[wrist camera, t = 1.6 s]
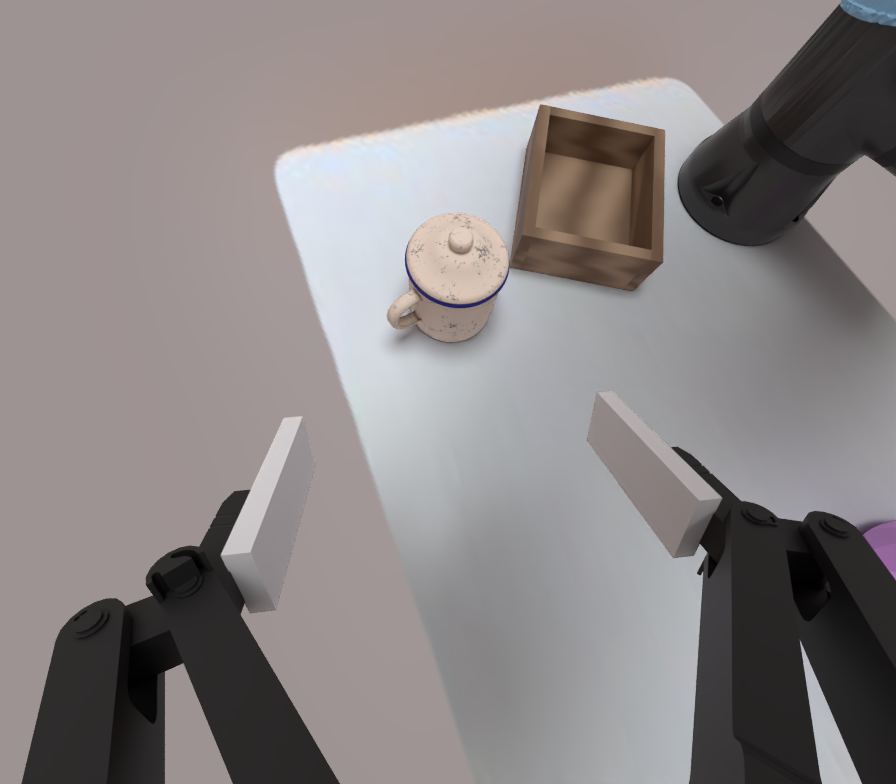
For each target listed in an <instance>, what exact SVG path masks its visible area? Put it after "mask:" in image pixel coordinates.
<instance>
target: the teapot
mask: <svg viewBox="0 0 896 784" xmlns="http://www.w3.org/2000/svg"><path fill="white" fill-rule="evenodd" d="M863 536H864V537H865V539H866V540H867V541H868V543H869V544H870V545H871V547H872V548H873V550H874V551H875V552H876V554H877V555H878V556H879V558H880V559H881V560H882V562H883V563H884V565H885V566H886V567H887V569H888V570H889V571H890V573H891V574H892V576H893V577H894V578H895V580H896V520H895V521H891V522H887V523H883V524H880V525H878V526H875V527H873V528H872V529H870V530H869V531H867V532H866V533H864V534H863Z"/></svg>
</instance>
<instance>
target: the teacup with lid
mask: <svg viewBox="0 0 896 784" xmlns="http://www.w3.org/2000/svg"><path fill="white" fill-rule="evenodd" d="M405 266H406V270H407V274H408V276H409V292H407V293H405V294H404V295H402V296H401V297H399V298H398V299H397V300H396V301H395V302H394V303H393V304H392V305H391V307H390V308H389V310H388V313H387V319H388V321H389V323H390V324H391V325H392V326H393V327H394V328H396V329H406V328H409V327H411V326H413V325H415V324H417V325H418V327H419V328H420V329H421V330H422V331H423V332H424V333H426V334H427V335H429V336H430V337H432V338H435V339H437V340H440V341H445V342H458V341H463V340H466V339H469V338H471V337H473V336H474V335H476V334H477V333H478V332H479V331H480V330H481V329H482V328H483V327H484V325H485V324H486V322H487V320H488V317H489V315H490V312H491V310H492V307H493V305H494V302H495V300H496V297H497V295H498V292H499V291H500V290H501V288H502V287H503V285H504V284H505V282H506V279H507V277H508V273H509V255H508V250H507V247H506V245H505V243H504V241H503V239H502V237H501V236H500V234H499V233H498V232H497V231H496V230H495V229H494V228H493V227H492V226H491V225H490V224H488V223H487V222H485V221H484V220H482V219H480V218H478V217H475V216H472V215H468V214H463V213H447V214H442V215H439V216H436V217H433V218H431V219H429V220H428V221H426V222H425V223H423V224H422V225H421V226H420V227H419V228H418V229H417V230H416V231H415V232H414V234H413V235H412V237H411V239H410V241H409V243H408V245H407V248H406V253H405ZM408 308H411V313H409V314H407V315H405V316H403V317H400V316H401V315H402V314H403V313H404V312H405V311H406V310H407V309H408Z"/></svg>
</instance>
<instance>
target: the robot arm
mask: <svg viewBox="0 0 896 784" xmlns="http://www.w3.org/2000/svg"><path fill="white" fill-rule="evenodd" d="M864 155H866V156H868V157H869V158H871V159H872V160H874V161H875V162H877V163H878V164H879V165H881V166H882V167H884V168H885V169H886V170H887V171H889V172H890V173H892V174H893V175H894V176H896V0H841V3H840V4H839V5H838V7H837V8H836V9H835V10H834V11H833V12H832V13H831V14H830V16H829V17H828V18H827V19H826V20H825V21H824V23H823V24H822V25H821V26H820V27H819V28H818V29H817V30H816V32H815V33H814V34H813V35H812V36H811V37H810V38H809V40H808V41H807V42H806V43H805V44H804V46H803V47H802V48H801V49H800V50H799V51H798V52H797V53H796V55H795V56H794V57H793V58H792V59H791V60H790V62H789V63H788V64H787V65H786V66H785V67H784V68H783V70H782V71H781V72H780V73H779V74H778V75H777V76H776V77H775V79H774V80H773V81H772V82H771V83H770V84H769V85H768V87H767V88H766V89H765V90H764V91H763V92H762V94H761V95H760V96H759V97H758V98H757V99H756V101H755V102H754V103H753V104H752V105H751V106H750V107H749V108H748V109H746V110H745V111H744V112H742V113H741V114H739V115H738V116H737V117H735V118H734V119H733V120H731V121H730V122H729V123H728V124H726V125H725V126H723V127H722V128H721V129H719V130H718V131H717V132H716V133H714V134H713V135H711V136H710V137H708V138H706V139H705V140H704V141H702V142H701V143H700V144H699V145H698V146H697V147H696V148H695V150H694V151H693V152H692V153H691V155H690V156H689V157H688V158H687V160H686V161H685V162H684V164H683V165H682V168H681V170H680V174H679V191H680V195H681V198H682V200H683V203H684V205H685V206H686V208H687V210H688V211H689V213H690V214H691V215H692V217H693V218H694V219H695V220H696V221H697V222H698V223H699V224H700V225H701V226H703V227H704V228H705V229H706V230H708V231H709V232H711V233H712V234H714V235H716V236H718V237H720V238H722V239H724V240H727V241H730V242H733V243H737V244H743V245H760V244H765V243H768V242H771V241H773V240H775V239H777V238H778V237H780V236H781V235H783V234H784V233H786V232H787V231H788V230H790V229H791V228H793V227H794V226H795V225H796V224H797V223H799V222H800V221H801V220H802V218H803V217H804V216H805V215H806V213H807V211H808V210H809V209H810V208H811V207H812V206H813V205H814V203H815V202H816V201H817V200H818V199H819V197H820V196H821V195H822V193H824V191H825V190H826V189H827V188H828V186H829V185H830V184H831V183H832V181H833V180H834V179H835V178H836V176H837V175H838V174H840V173H841V172H842V171H843V170H845V169H846V168H847V167H849V166H850V165H851V164H853V163H854V162H855V161H857V160H858V159H859V158H861V157H862V156H864ZM587 441H588V443H589V444H590V445H591V447H592V448H593V449H594V451H595V452H596V454H597V455H598V456H599V458H600V459H601V460H602V462H603V463H604V464H605V466H606V467H607V469H608V470H609V471H610V473H611V474H612V475H613V477H614V478H615V479H616V481H617V482H618V484H619V485H620V486H621V488H622V489H623V490H624V492H625V493H626V494H627V496H628V497H629V499H630V500H631V501H632V503H633V504H634V505H635V507H636V508H637V510H638V511H639V512H640V514H641V515H642V516H643V518H644V519H645V520H646V522H647V523H648V525H649V526H650V527H651V529H652V530H653V531H654V533H655V534H656V535H657V537H658V538H659V540H660V541H661V542H662V544H663V545H664V546H665V548H666V549H667V550H668V552H669V553H670V555H671V556H672V557H673V558H679V557H687V556H694V554H695V552H696V550H697V548H698V546H699V544H701V545H702V547H703V548H704V549H705V550H706V551H707V555H706V556H705V558H704V560H703V562H702V564H701V566H700V568H699V570H698V572H697V574H698V575H701V574H702V572H703V587H702V602H701V618H700V634H699V649H698V665H697V681H696V696H695V712H694V728H693V743H692V759H691V774H690V781H689V784H822V782H821V778H820V772H819V765H818V758H817V752H816V745H815V739H814V732H813V725H812V719H811V712H810V705H809V699H808V692H807V685H806V679H805V672H804V666H803V659H802V652H801V646H800V641H801V643H802V645H803V648H804V650H805V652H806V655H807V657H808V659H809V661H810V664H811V666H812V668H813V671H814V673H815V675H816V678H817V680H818V682H819V685H820V687H821V689H822V692H823V694H824V696H825V699H826V701H827V703H828V706H829V708H830V710H831V712H832V715H833V717H834V719H835V722H836V724H837V726H838V729H839V731H840V733H841V736H842V738H843V740H844V743H845V745H846V747H847V750H848V752H849V754H850V757H851V759H852V761H853V763H854V766H855V768H856V770H857V773H858V775H859V777H860V780H861V782H862V784H896V580H895V578H894V577H893V576H892V574H891V573H890V571H889V570H888V569H887V567H886V566H885V565H884V563H883V562H882V560H881V559H880V558H879V556H878V555H877V554H876V552H875V551H874V550H873V548H872V547H871V545H870V544H869V543H868V541H867V540H866V539H865V537H864V536H863V534H862V533H861V532H860V531H859V530H858V529H857V528H856V527H855V526H853V525H852V524H850V523H849V522H847V521H846V520H844V519H842V518H840V517H838V516H835V515H833V514H829V513H826V512H819V511H813V512H810V513H808V515H807V516H806V517H805V519H804V520H803V522H801V521H794V520H787V519H780V518H777V517H776V516H775V515H774V514H773V513H772V512H770V511H769V510H767V509H766V508H764V507H762V506H760V505H757V504H755V503H750V502H746V501H743V502H742V501H740V500H739V499H738V498H737V497H736V496H735V495H734V494H733V493H732V492H731V491H730V490H729V489H728V488H727V487H725V486H724V485H723V484H722V483H721V482H720V481H719V480H718V479H717V478H716V477H715V476H714V475H713V474H710V472H709V471H708V470H707V469H706V468H705V467H704V466H702V465H701V463H700V462H699V461H698V460H697V459H695V458H694V457H693V456H692V455H691V454H689V453H688V452H686V451H684V450H682V449H681V448H679V447H670V446H669V445H668V444H667V443H666V442H664V441H663V440H662V439H661V438H660V437H659V436H658V435H657V434H656V433H655V432H654V431H653V430H652V429H651V428H650V427H649V426H648V425H647V424H646V423H645V422H644V421H643V420H642V419H641V418H640V417H639V416H638V415H637V414H636V413H635V412H634V411H633V410H632V409H631V408H630V407H629V406H628V405H627V404H626V403H625V402H624V401H623V400H622V399H620V398H619V397H618V396H617V395H616V394H615V393H614V392H613V391H608V392H597V395H596V400H595V404H594V409H593V414H592V418H591V423H590V428H589V432H588V437H587ZM314 470H315V462H314V458H313V454H312V450H311V447H310V443H309V439H308V435H307V431H306V427H305V424H304V419H303V417H302V416H300V417H287V418H284V419H283V421H282V423H281V425H280V428H279V430H278V432H277V434H276V437H275V438H274V441H273V443H272V445H271V447H270V449H269V452H268V454H267V456H266V458H265V460H264V462H263V464H262V467H261V469H260V471H259V473H258V475H257V478H256V480H255V482H254V484H253V486H252V488H251V490H243V491H234V492H233V493H232V494H231V495H230V496H229V497H228V498H227V499H226V500H225V501H224V502H223V503H222V505H221V507H220V509H219V511H218V512H217V514H216V518H214V520H213V522H212V524H211V525H210V529H208V531H207V533H206V535H205V537H204V539H203V541H202V543H201V544H200V546H199V547H197V546H186V547H181V548H178V549H176V550H174V551H171V552H169V553H167V554H166V555H165V556H163V557H162V558H160V559H159V560H158V561H157V562H156V563H155V564H154V565H153V566H152V567H151V569H150V570H149V572H148V574H147V576H146V586H147V587H148V589H149V590H150V591H151V593H152V594H153V596H151V597H148V598H145V599H143V600H140V601H138V602H135V603H132V604H129V605H127V606H125V605H124V604H123V603H122V602H121V601H119V600H118V599H115V598H114V599H112V598H111V599H103V600H101V601H97V602H94V603H92V604H91V605H89V606H87V607H85V608H84V609H82V610H80V611H79V612H78V613H77V614H75V615H74V616H73V617H72V618H70V620H69V621H68V622H67V623H66V624H65V625H64V626H63V628H62V629H61V630H60V633H59V634H58V637H57V639H56V642H55V646H54V650H53V654H52V658H51V663H50V667H49V671H48V675H47V679H46V684H45V688H44V692H43V696H42V700H41V705H40V709H39V713H38V718H37V721H36V725H35V730H34V734H33V738H32V742H31V747H30V751H29V755H28V759H27V763H26V767H25V772H24V776H23V780H22V784H165V671H167V670H169V669H171V668H174V667H176V666H178V665H180V664H182V663H184V665H185V667H186V670H187V672H188V675H189V677H190V680H191V682H192V685H193V687H194V690H195V692H196V695H197V697H198V699H199V702H200V704H201V707H202V709H203V712H204V714H205V717H206V719H207V721H208V724H209V726H210V729H211V731H212V734H213V736H214V738H215V741H216V743H217V746H218V748H219V750H220V753H221V756H222V758H223V760H224V763H225V765H226V768H227V770H228V773H229V775H230V778H231V780H232V782H233V784H340V783H339V782H338V780H337V778H336V777H335V775H334V773H333V771H332V770H331V768H330V766H329V765H328V763H327V761H326V760H325V758H324V756H323V754H322V753H321V751H320V749H319V748H318V746H317V744H316V743H315V741H314V739H313V737H312V736H311V734H310V732H309V731H308V729H307V727H306V726H305V724H304V722H303V720H302V719H301V717H300V715H299V714H298V712H297V710H296V709H295V707H294V705H293V703H292V702H291V700H290V698H289V697H288V695H287V693H286V691H285V690H284V688H283V686H282V685H281V683H280V681H279V680H278V678H277V676H276V674H275V673H274V671H273V669H272V668H271V666H270V664H269V663H268V661H267V659H266V657H265V656H264V654H263V653H262V651H261V649H260V647H259V646H258V644H257V642H256V640H255V639H254V637H253V636H252V634H251V632H250V630H249V629H248V627H247V625H246V624H245V622H244V620H243V619H242V617H241V612H242V609H243V606H244V603H245V605H246V607H247V608H248V611H249V613H257V612H265V611H272V610H276V608H277V604H278V600H279V597H280V593H281V589H282V586H283V582H284V579H285V575H286V572H287V568H288V564H289V561H290V557H291V553H292V550H293V546H294V542H295V538H296V535H297V531H298V528H299V524H300V521H301V517H302V513H303V510H304V506H305V502H306V499H307V495H308V491H309V488H310V484H311V480H312V477H313V473H314ZM799 638H800V639H799Z"/></svg>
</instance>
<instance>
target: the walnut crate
mask: <svg viewBox="0 0 896 784" xmlns="http://www.w3.org/2000/svg"><path fill="white" fill-rule="evenodd" d="M664 169H665V130H663V129H658V128H653V127H648V126H643V125H638V124H634V123H629V122H624V121H619V120H614V119H609V118H604V117H600V116H595V115H590V114H585V113H580V112H575V111H570V110H566V109H561V108H556V107H551V106H546V105H541V104H540V107H539V110H538V113H537V116H536V120H535V123H534V126H533V129H532V133H531V136H530V139H529V142H528V145H527V149H526V156H525V163H524V170H523V177H522V184H521V191H520V198H519V205H518V212H517V219H516V226H515V232H514V239H513V246H512V253H511V260H510V267H512V268H517V269H522V270H527V271H532V272H537V273H543V274H548V275H553V276H558V277H563V278H568V279H574V280H579V281H584V282H589V283H594V284H599V285H605V286H610V287H615V288H620V289H625V290H630V291H633V290H634V289H635V288H636V287H637V286H638V285H639V284H640V283H642V282H643V281H644V280H645V279H646V278H647V277H648V276H649V275H650V274H651V273H652V272H653V271H654V270H655V269H656V268H658V267H659V266H660V265H661V264H662V263H663V229H664Z"/></svg>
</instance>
